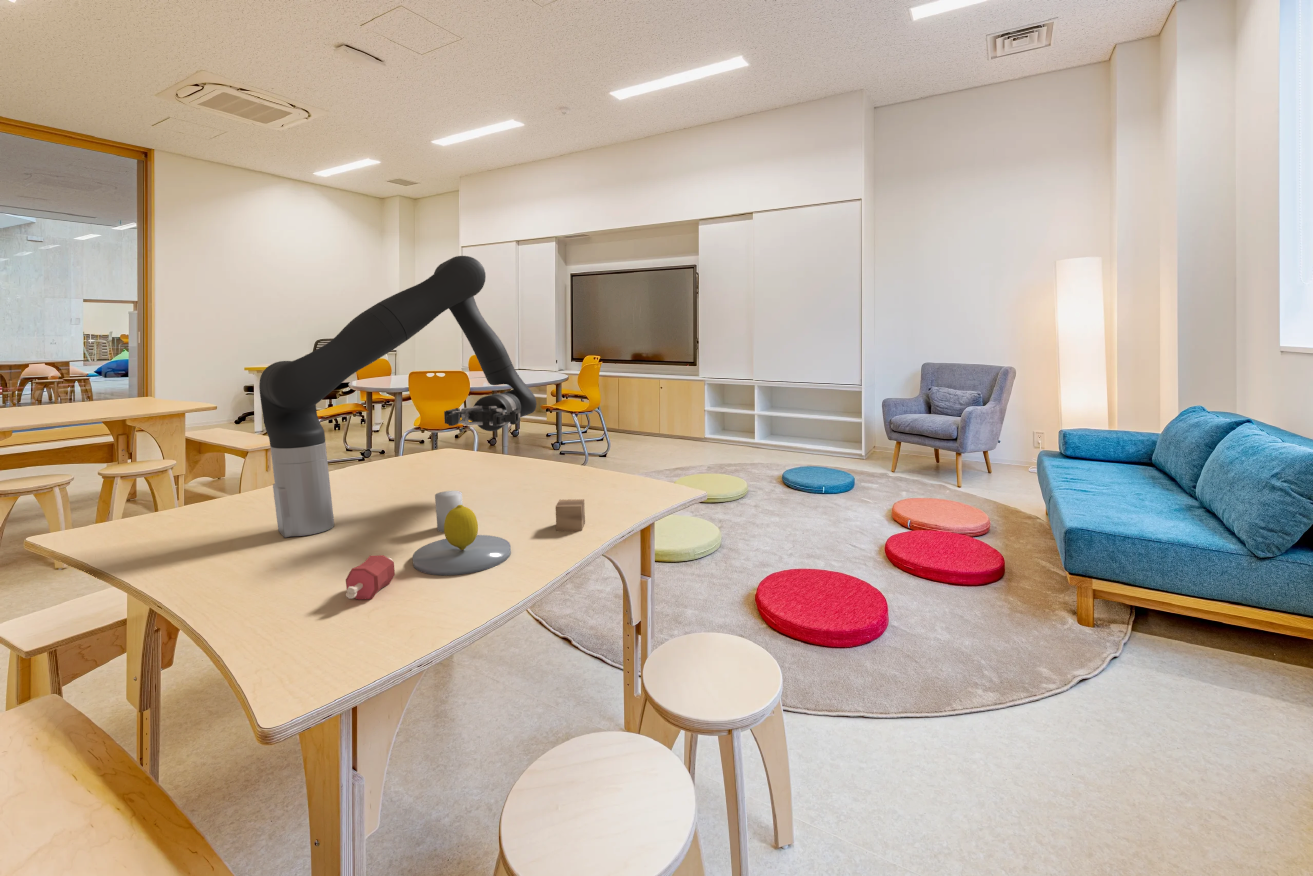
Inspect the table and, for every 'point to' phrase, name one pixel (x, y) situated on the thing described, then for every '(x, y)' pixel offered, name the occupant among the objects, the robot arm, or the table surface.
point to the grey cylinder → (446, 505)
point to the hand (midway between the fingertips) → (472, 420)
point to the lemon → (460, 527)
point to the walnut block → (570, 515)
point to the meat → (369, 577)
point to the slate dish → (461, 556)
